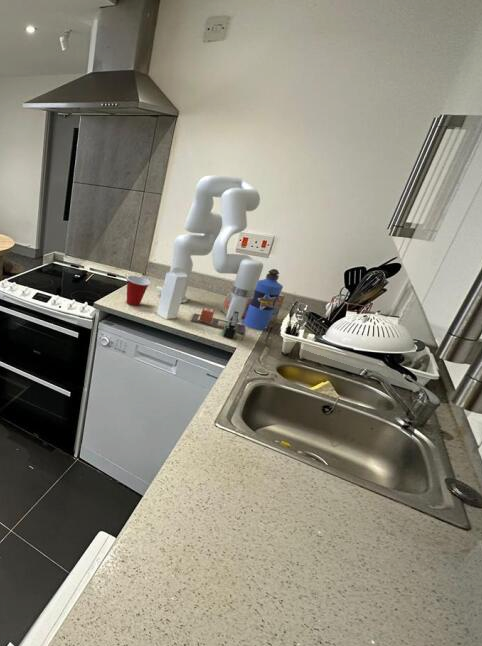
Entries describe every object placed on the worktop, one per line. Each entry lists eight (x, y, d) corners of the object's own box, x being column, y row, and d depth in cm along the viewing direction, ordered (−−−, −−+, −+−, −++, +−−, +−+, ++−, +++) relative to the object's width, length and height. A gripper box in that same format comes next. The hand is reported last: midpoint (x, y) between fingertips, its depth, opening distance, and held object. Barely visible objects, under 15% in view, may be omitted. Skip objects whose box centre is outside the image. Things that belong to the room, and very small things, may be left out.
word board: (190, 321, 167) (191, 319, 167) (194, 314, 175) (194, 313, 175) (243, 334, 158) (243, 333, 158) (244, 326, 166) (244, 325, 166)
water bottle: (269, 331, 163) (291, 274, 153) (245, 327, 165) (265, 270, 155) (263, 323, 172) (284, 268, 162) (240, 319, 174) (259, 265, 164)
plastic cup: (139, 309, 175) (145, 284, 170) (117, 302, 181) (122, 278, 176) (149, 304, 183) (154, 280, 178) (128, 297, 189) (132, 274, 184)
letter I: (221, 335, 156) (225, 325, 154) (222, 331, 159) (226, 321, 157) (234, 338, 154) (237, 328, 152) (235, 335, 157) (238, 324, 155)
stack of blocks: (226, 316, 176) (235, 290, 172) (221, 310, 182) (229, 285, 177) (275, 321, 175) (285, 295, 170) (268, 316, 181) (278, 291, 176)
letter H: (199, 319, 168) (202, 309, 166) (200, 316, 171) (203, 307, 169) (210, 322, 166) (213, 312, 164) (211, 319, 169) (214, 309, 167)
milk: (176, 318, 170) (190, 269, 161) (166, 319, 167) (179, 269, 158) (166, 312, 175) (179, 264, 166) (156, 313, 172) (168, 265, 163)
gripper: (233, 284, 158) (220, 325, 165) (230, 295, 144) (216, 339, 151) (254, 288, 154) (240, 330, 162) (253, 300, 141) (237, 345, 148)
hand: (228, 334), depth 156 cm, fingers open, 4 cm apart
